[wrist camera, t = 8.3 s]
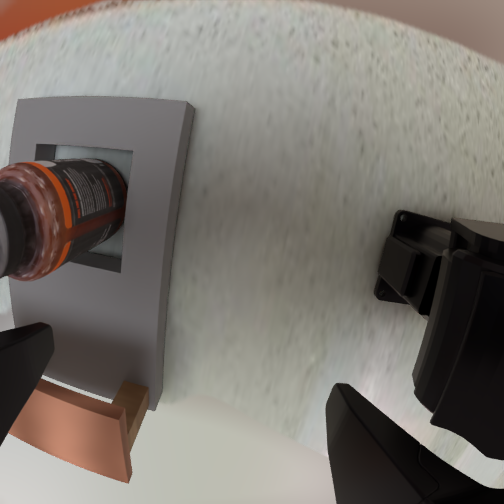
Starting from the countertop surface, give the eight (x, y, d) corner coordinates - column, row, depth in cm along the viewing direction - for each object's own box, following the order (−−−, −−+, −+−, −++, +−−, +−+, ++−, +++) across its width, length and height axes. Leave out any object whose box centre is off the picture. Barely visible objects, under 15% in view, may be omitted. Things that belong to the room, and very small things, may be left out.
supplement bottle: (87, 141, 19) (-31, 137, 8) (147, 192, 20) (46, 225, 9) (48, 207, 21) (-64, 245, 10) (102, 258, 22) (3, 329, 11)
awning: (156, 345, 20) (119, 420, 13) (154, 411, 22) (128, 483, 15) (11, 302, 20) (-48, 344, 13) (22, 366, 22) (-23, 414, 15)
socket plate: (195, 108, 19) (186, 101, 16) (162, 392, 25) (154, 411, 22) (37, 103, 18) (18, 99, 16) (36, 352, 24) (22, 366, 22)
